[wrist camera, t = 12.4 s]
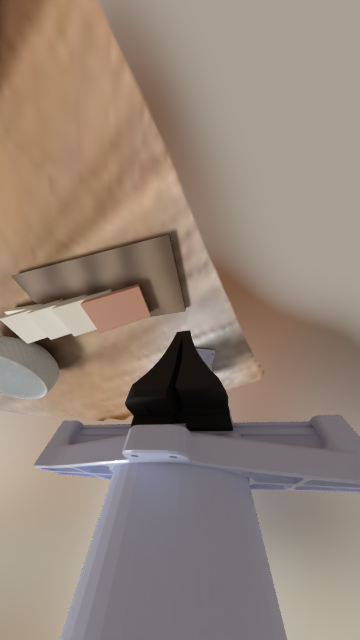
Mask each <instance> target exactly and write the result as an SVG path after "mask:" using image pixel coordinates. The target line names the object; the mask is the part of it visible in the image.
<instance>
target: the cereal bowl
mask: <svg viewBox="0 0 360 640" xmlns="http://www.w3.org/2000/svg"><path fill="white" fill-rule="evenodd" d="M58 376H59V367H58V364H57V362H56V361H55V359H54V358H53V357H52V356H51V355H50V353H49V352H48V351H47V350H46V349H45V348H43V347H42V346H40V345H38V344H35V343H33V342H32V343H29V344H27V343H26V342H25V341H24V340H22V339H18V338H14V337H8V336H0V394H4V395H7V396H12V397H17V398H24V399H36V398H41V397H43V396H45V395H46V394H47V393H48V392H49V391H50V389H51V388H52V387H53V386H54V384H55V383H56V381H57V379H58Z"/></svg>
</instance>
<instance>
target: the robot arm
mask: <svg viewBox="0 0 360 640" xmlns="http://www.w3.org/2000/svg"><path fill="white" fill-rule="evenodd" d="M212 353H213V354H212ZM214 356H215V350H209V349H197V348H195V346H194V343H193V341H192V337H191V332H190V331H182V332H177V333H176V335H175V337H174V339H173V341H172V343H171V344H170V346H169V348H168V349H167V351H166V352H165V354H164V355H163V356H162V358H161V359H160V360H159V361H158V362H157V363H156V365H155V366H154V367H153V368H152V369H151V370H150V371H149V372H148V373H146V374H145V375H144V376H143V377H142V378H140V379H139V380H138V381H137V382H135V383H134V384H133V385H132V387H131V389H130V392H129V394H128V397H127V399H126V402H125V405H126V407H127V409H128V410H129V411H130V412H131V413H132V414H133V415H134V417H133V420H132V423H131V424H122V425H121V424H117V425H83V424H82V423H81V422H79V421H63V422H62V424H61V425H60V427H59V428H58V430H57V431H56V433H55V434H54V436H53V437H52V439H51V440H50V442H49V443H48V445H47V446H46V447H45V449H44V450H43V452H42V453H41V455H40V456H39V458H38V459H37V461H36V463H35V464H34V465H33V467H35V468H38V469H42V470H46V471H49V472H52V473H56V474H60V475H72V476H84V477H93V478H102V479H111V481H110V484H109V487H108V490H107V493H106V497H105V500H104V503H103V506H102V509H101V512H100V515H99V518H98V522H97V525H96V528H95V531H94V534H93V537H92V540H91V543H90V546H89V550H88V553H87V556H86V559H85V562H84V566H83V568H82V572H81V575H80V578H79V581H78V584H77V587H76V590H75V594H74V597H73V600H72V603H71V606H70V609H69V612H68V615H67V619H66V622H65V625H64V628H63V631H62V635H61V637H60V640H287V637H286V634H285V630H284V625H283V621H282V617H281V613H280V609H279V604H278V600H277V596H276V592H275V588H274V584H273V580H272V576H271V571H270V567H269V563H268V559H267V555H266V551H265V547H264V543H263V539H262V534H261V531H260V526H259V522H258V518H257V514H256V510H255V506H254V502H253V498H252V493H251V490H297V491H298V490H300V491H335V492H356V493H360V437H359V435H358V434H357V433H356V432H355V431H354V430H353V428H352V427H351V426H350V425H349V424H348V423H347V421H346V420H345V419H344V418H343V417H342V416H341V415H318V416H314V417H312V418H311V420H310V422H250V423H233V421H232V417H231V414H230V410H229V407H228V396H227V393H226V390H225V388H224V387H223V385H222V383H221V381H220V380H219V378H218V377H217V376H216V375H215V374H214V373H213V371H212V363H213V359H214Z"/></svg>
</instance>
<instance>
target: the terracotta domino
mask: <svg viewBox="0 0 360 640" xmlns="http://www.w3.org/2000/svg"><path fill="white" fill-rule="evenodd" d="M80 305H81V307H82V308H83V309H84V311H85V312H86V314H87V315H88V317H89V318H90V319H91V321H92V322H93V324H94V325H95V327H96V328H97V329H98V331H99V332H100V333H103V332H105V331H108V330H111V329H114V328H117V327H120V326H123V325H126V324H129V323H132V322H135V321H138V320H141V319H144V318H147V317H150V312H149V309H148V307H147V304H146V302H145V299H144V296H143V294H142V291H141V289H140V286H139V284H137V285H134V286H130V287H127V288H124V289H120V290H117V291H114V292H110V293H107V294H104V295H100V296H97V297H93V298H90V299H87V300H84V301H83V302H82V303H81V304H80Z"/></svg>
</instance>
